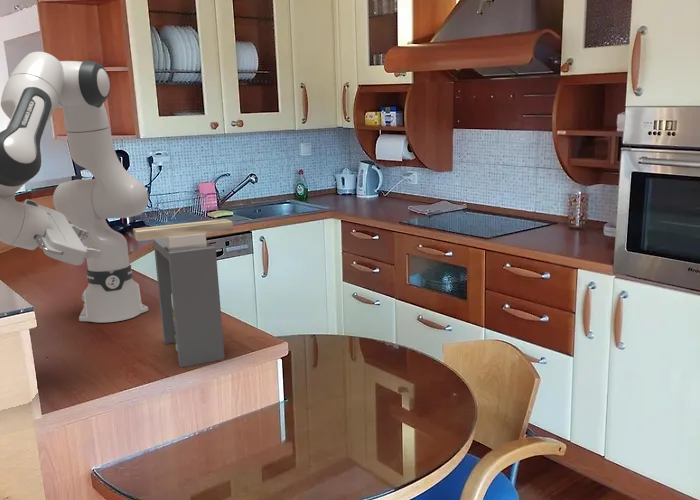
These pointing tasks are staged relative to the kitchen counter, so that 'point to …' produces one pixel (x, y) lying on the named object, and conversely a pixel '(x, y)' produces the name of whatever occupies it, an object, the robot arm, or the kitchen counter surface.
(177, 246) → the ceramic dish
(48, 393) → the kitchen counter surface
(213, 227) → the slat
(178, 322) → the shelf
